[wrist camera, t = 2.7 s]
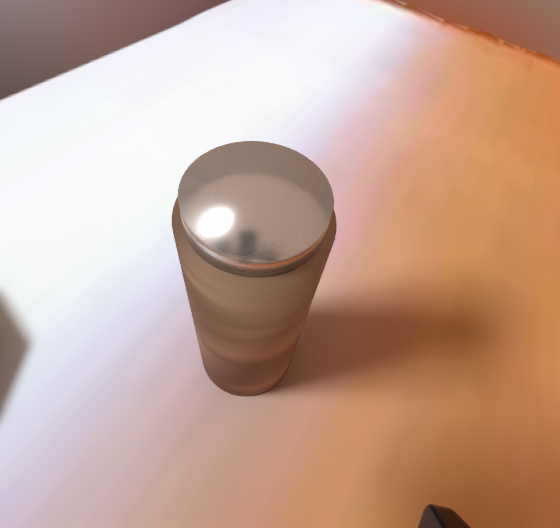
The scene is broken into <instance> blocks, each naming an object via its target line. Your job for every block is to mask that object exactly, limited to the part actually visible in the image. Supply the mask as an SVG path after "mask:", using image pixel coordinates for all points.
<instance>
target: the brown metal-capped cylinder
mask: <svg viewBox="0 0 560 528" xmlns="http://www.w3.org/2000/svg"><path fill="white" fill-rule="evenodd" d="M333 208H334V198H333V192H332V189H331V186H330V184H329V182H328V180H327V178H326V176H325V175H324V173H323V172H322V171H321V170H320V169H319V168H318V166H317V165H315V164H314V163H313V162H312V161H311V160H309V159H308V158H307V157H305V156H304V155H302V154H300V153H298V152H297V151H294V150H292V149H290V148H287V147H284V146H281V145H277V144H273V143H268V142H259V141H243V142H235V143H230V144H226V145H223V146H219V147H217V148H214V149H212V150H210V151H208V152H206V153H205V154H203V155H201V156H200V157H199V158H197V159H196V160H195V161H194V162H193V163H192V164H191V165H190V166H189V167H188V169H187V170H186V171H185V173H184V175H183V177H182V179H181V182H180V184H179V189H178V197H177V199H176V202H175V205H174V207H173V213H172V228H173V234H174V238H175V242H176V247H177V251H178V256H179V260H180V264H181V269H182V273H183V277H184V282H185V286H186V290H187V295H188V299H189V303H190V308H191V312H192V316H193V321H194V325H195V330H196V334H197V338H198V343H199V347H200V351H201V356H202V360H203V364H204V367H205V370H206V372H207V374H208V376H209V377H210V379H211V380H212V381H213V382H214V384H215V385H217V386H218V387H219V388H220V389H222V390H224V391H225V392H228V393H230V394H233V395H237V396H254V395H258V394H261V393H264V392H266V391H268V390H270V389H271V388H273V387H274V386H275V385H276V384H277V383H278V382H279V381H280V380H281V379H282V377H283V376H284V374H285V373H286V371H287V368H288V365H289V363H290V360H291V357H292V355H293V352H294V349H295V346H296V344H297V341H298V338H299V335H300V333H301V330H302V327H303V324H304V322H305V319H306V316H307V314H308V311H309V308H310V305H311V303H312V300H313V297H314V294H315V292H316V289H317V286H318V284H319V281H320V278H321V275H322V273H323V270H324V267H325V264H326V262H327V259H328V256H329V254H330V251H331V248H332V245H333V243H334V240H335V235H336V217H335V212H334V209H333Z"/></svg>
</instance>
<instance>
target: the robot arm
mask: <svg viewBox="0 0 560 528" xmlns="http://www.w3.org/2000/svg"><path fill="white" fill-rule="evenodd" d="M418 528H470V527H469V526H468V525H467V524H466V523H465V522H464V520H463V519H462V518H461V517H460V516H459V515H458V514H457V513H456V512H455V511H453V510H452V509H450V508H447V507H442V506H438V505H434V504H430V505H427V506H426V507H425V509H424V512H423V515H422V517H421V520H420V523H419V526H418Z"/></svg>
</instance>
